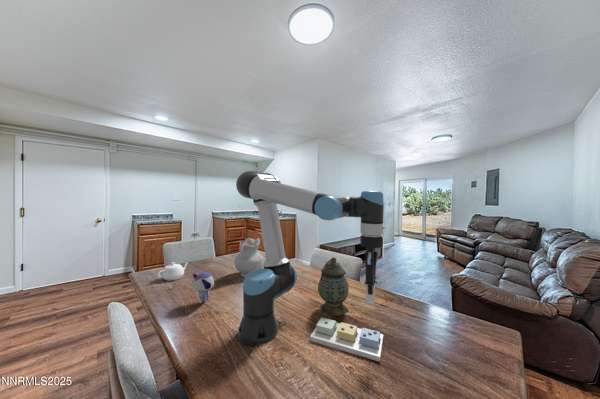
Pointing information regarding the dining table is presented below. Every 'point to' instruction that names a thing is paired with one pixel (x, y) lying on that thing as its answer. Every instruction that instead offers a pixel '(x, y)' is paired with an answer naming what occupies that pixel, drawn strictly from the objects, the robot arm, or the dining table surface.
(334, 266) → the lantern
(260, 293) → the robot arm
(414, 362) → the dining table surface
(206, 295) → the toy
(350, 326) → the tile two
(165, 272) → the teapot
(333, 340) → the panel
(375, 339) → the tile three
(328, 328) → the tile one
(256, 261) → the ceramic pitcher
